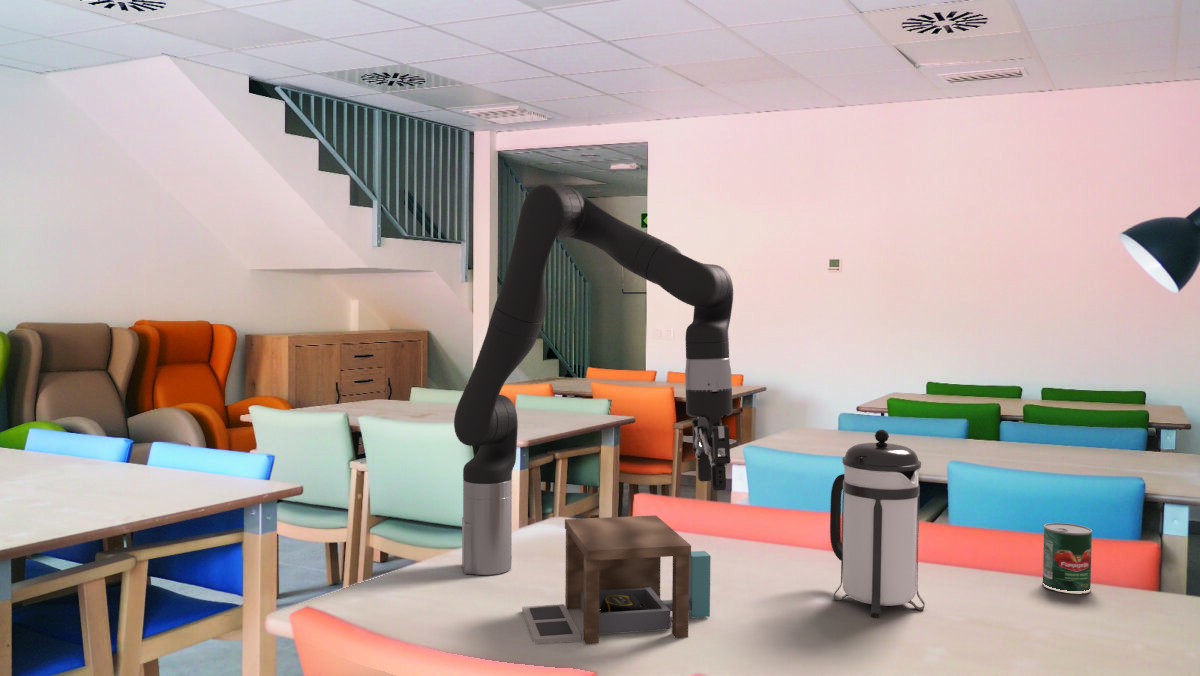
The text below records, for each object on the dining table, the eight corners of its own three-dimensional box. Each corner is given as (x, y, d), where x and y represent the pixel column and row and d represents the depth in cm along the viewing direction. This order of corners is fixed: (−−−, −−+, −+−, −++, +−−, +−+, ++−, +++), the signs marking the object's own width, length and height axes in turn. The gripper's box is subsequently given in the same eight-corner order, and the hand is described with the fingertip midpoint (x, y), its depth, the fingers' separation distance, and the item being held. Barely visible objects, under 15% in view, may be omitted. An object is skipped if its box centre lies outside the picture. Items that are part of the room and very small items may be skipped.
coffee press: (929, 596, 165) (933, 426, 163) (919, 624, 150) (923, 438, 149) (829, 582, 172) (832, 420, 171) (810, 608, 157) (814, 431, 156)
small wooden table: (587, 646, 139) (587, 550, 139) (564, 603, 159) (564, 519, 158) (690, 639, 143) (691, 545, 142) (655, 598, 162) (656, 515, 162)
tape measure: (649, 627, 148) (650, 604, 148) (608, 632, 146) (609, 608, 146) (635, 613, 155) (635, 591, 155) (595, 617, 153) (595, 595, 153)
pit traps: (534, 644, 140) (534, 638, 140) (522, 611, 155) (522, 606, 155) (580, 641, 142) (580, 635, 142) (563, 608, 156) (564, 603, 156)
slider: (594, 634, 144) (595, 570, 143) (580, 609, 156) (580, 549, 155) (718, 626, 148) (719, 563, 148) (695, 601, 160) (696, 543, 159)
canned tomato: (1062, 579, 175) (1063, 521, 175) (1100, 591, 168) (1102, 530, 168) (1032, 584, 172) (1034, 525, 171) (1070, 597, 165) (1072, 535, 164)
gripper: (676, 384, 159) (679, 479, 160) (697, 390, 145) (700, 494, 145) (718, 382, 160) (722, 477, 161) (743, 388, 146) (747, 491, 147)
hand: (711, 485), depth 153 cm, fingers open, 8 cm apart
